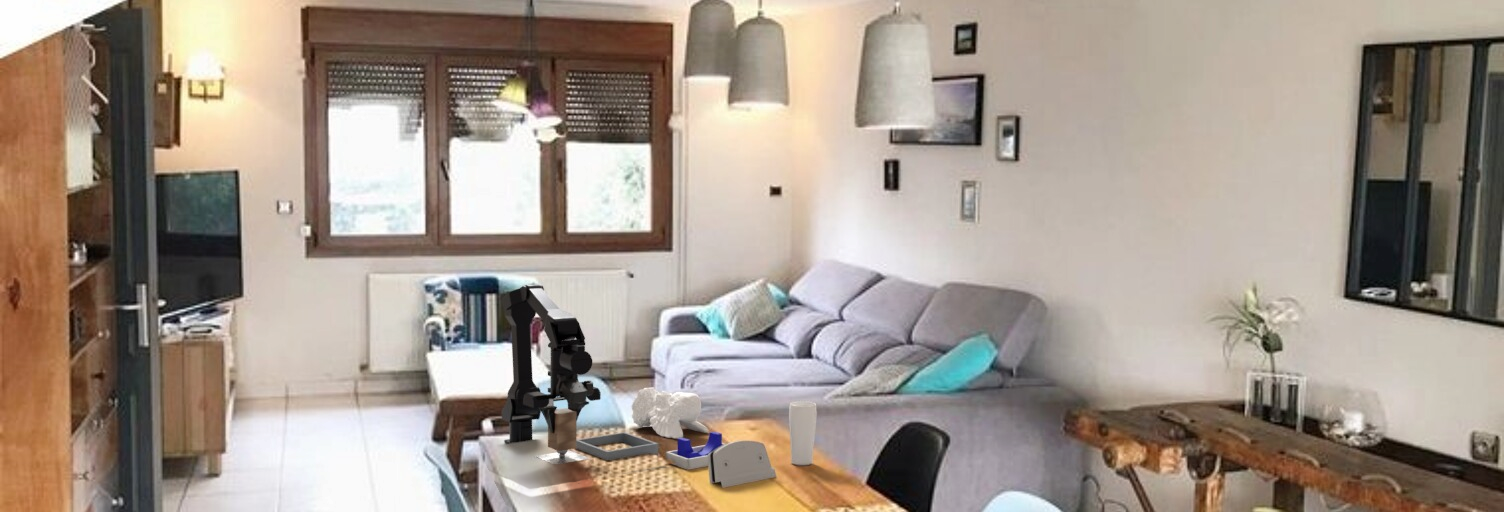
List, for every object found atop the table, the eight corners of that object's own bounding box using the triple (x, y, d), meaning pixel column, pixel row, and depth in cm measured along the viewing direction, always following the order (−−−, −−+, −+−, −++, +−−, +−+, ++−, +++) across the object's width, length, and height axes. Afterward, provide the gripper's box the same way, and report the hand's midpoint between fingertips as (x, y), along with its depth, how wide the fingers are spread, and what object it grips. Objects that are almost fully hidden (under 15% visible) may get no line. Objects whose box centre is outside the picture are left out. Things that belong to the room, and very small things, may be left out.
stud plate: (533, 462, 315) (533, 442, 315) (569, 456, 321) (569, 436, 321) (554, 470, 307) (554, 450, 307) (590, 464, 314) (590, 444, 313)
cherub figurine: (665, 384, 362) (715, 387, 348) (667, 429, 362) (716, 433, 348) (629, 389, 352) (679, 392, 338) (631, 435, 352) (680, 440, 338)
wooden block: (558, 451, 310) (558, 414, 310) (547, 446, 314) (547, 410, 314) (576, 448, 314) (576, 411, 313) (565, 443, 318) (565, 408, 317)
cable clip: (689, 466, 315) (689, 441, 314) (677, 462, 318) (677, 438, 317) (725, 458, 323) (725, 434, 322) (713, 454, 326) (713, 431, 326)
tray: (573, 453, 324) (574, 439, 324) (624, 445, 334) (624, 432, 333) (606, 466, 312) (606, 452, 312) (658, 457, 322) (658, 443, 322)
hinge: (722, 487, 295) (713, 444, 297) (710, 490, 299) (702, 447, 300) (777, 476, 306) (769, 434, 307) (765, 479, 309) (756, 438, 311)
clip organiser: (665, 461, 317) (665, 451, 317) (720, 452, 328) (720, 442, 328) (687, 469, 310) (687, 459, 310) (743, 459, 321) (743, 449, 321)
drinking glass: (782, 463, 318) (783, 403, 317) (800, 458, 323) (801, 399, 322) (803, 468, 314) (804, 407, 312) (821, 463, 319) (822, 403, 317)
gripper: (545, 377, 300) (545, 443, 301) (613, 369, 312) (612, 432, 313) (522, 370, 309) (521, 433, 310) (588, 362, 320) (588, 424, 322)
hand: (562, 431), depth 314 cm, fingers closed on wooden block, 5 cm apart
